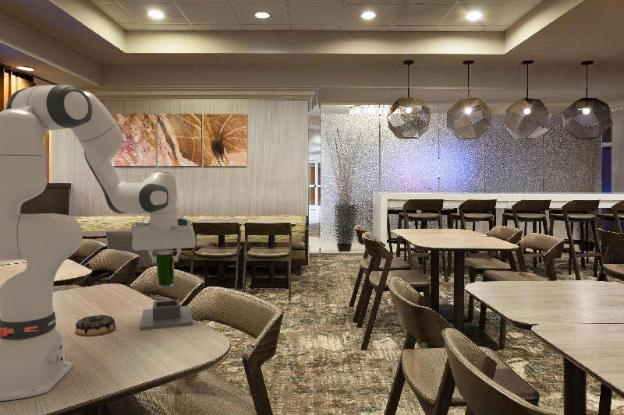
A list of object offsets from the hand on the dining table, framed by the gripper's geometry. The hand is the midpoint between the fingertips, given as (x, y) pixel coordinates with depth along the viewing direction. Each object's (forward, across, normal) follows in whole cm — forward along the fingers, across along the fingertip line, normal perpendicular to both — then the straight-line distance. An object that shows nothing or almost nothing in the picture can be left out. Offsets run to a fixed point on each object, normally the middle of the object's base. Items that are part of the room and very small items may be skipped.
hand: (165, 262), depth 161 cm
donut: (+20, -21, -6) cm, 29 cm away
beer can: (+8, 0, 0) cm, 8 cm away
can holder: (+19, 0, 0) cm, 19 cm away
